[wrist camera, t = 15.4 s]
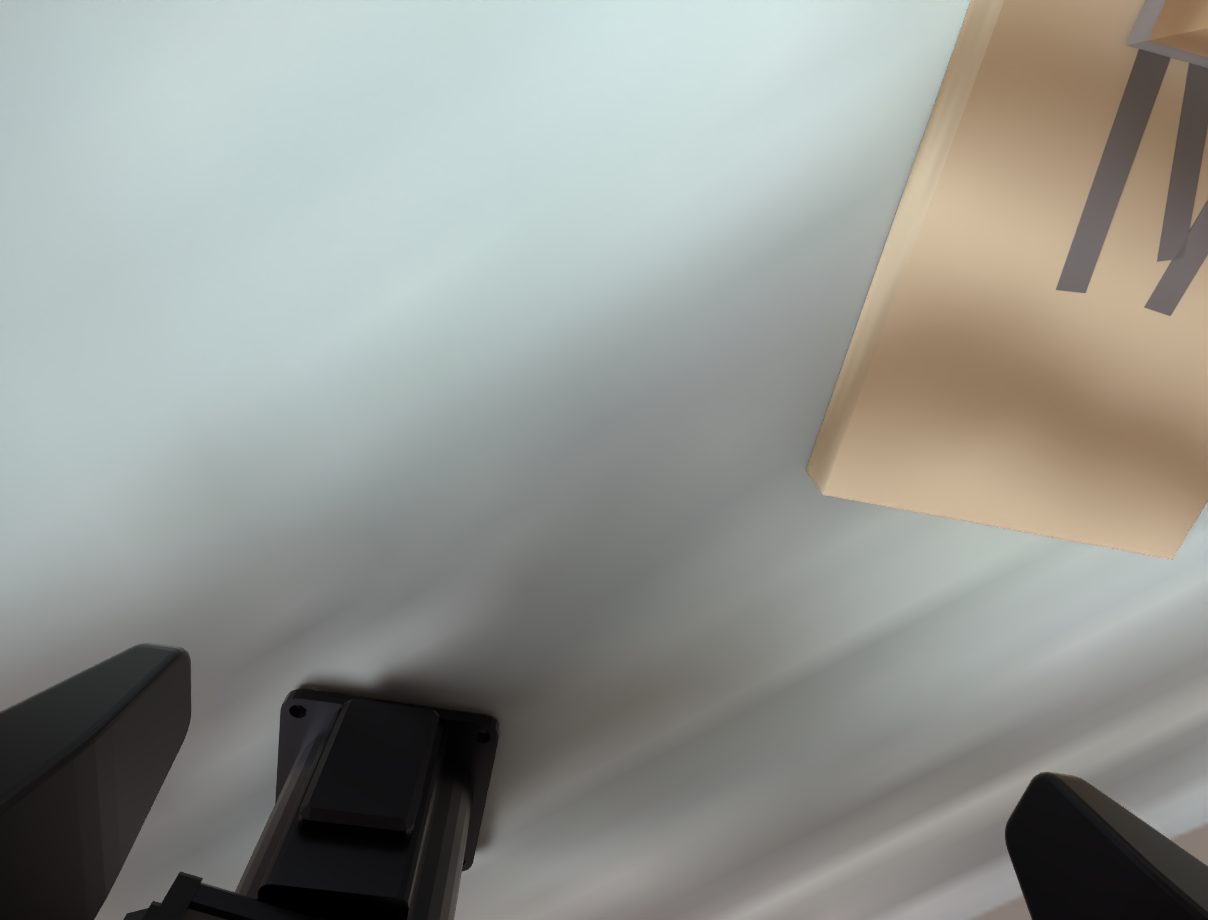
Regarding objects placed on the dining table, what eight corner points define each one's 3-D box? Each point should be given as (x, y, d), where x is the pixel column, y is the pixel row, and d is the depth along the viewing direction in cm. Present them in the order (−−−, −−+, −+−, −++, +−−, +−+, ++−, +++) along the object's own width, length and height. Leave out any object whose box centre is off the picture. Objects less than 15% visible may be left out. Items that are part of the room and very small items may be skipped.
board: (1132, 532, 21) (1173, 560, 19) (805, 471, 20) (823, 495, 18) (1580, -266, 14) (1692, -312, 13) (1122, -432, 13) (1190, -503, 12)
